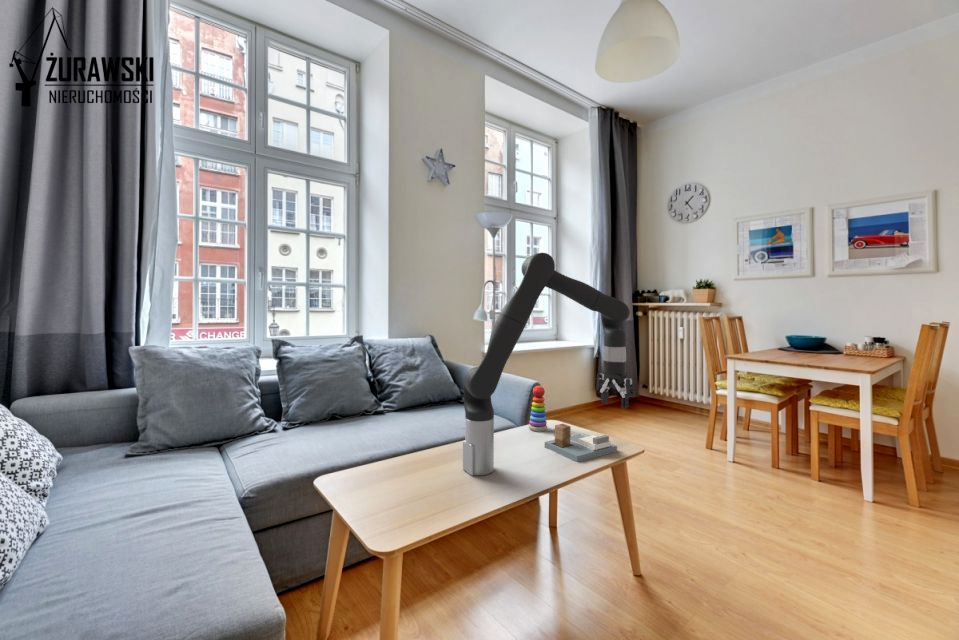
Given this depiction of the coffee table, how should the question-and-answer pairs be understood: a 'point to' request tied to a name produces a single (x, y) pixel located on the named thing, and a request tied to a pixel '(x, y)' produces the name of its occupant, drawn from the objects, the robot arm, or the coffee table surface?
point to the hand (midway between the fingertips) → (614, 405)
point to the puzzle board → (579, 449)
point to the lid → (595, 441)
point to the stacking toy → (538, 411)
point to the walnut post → (562, 435)
